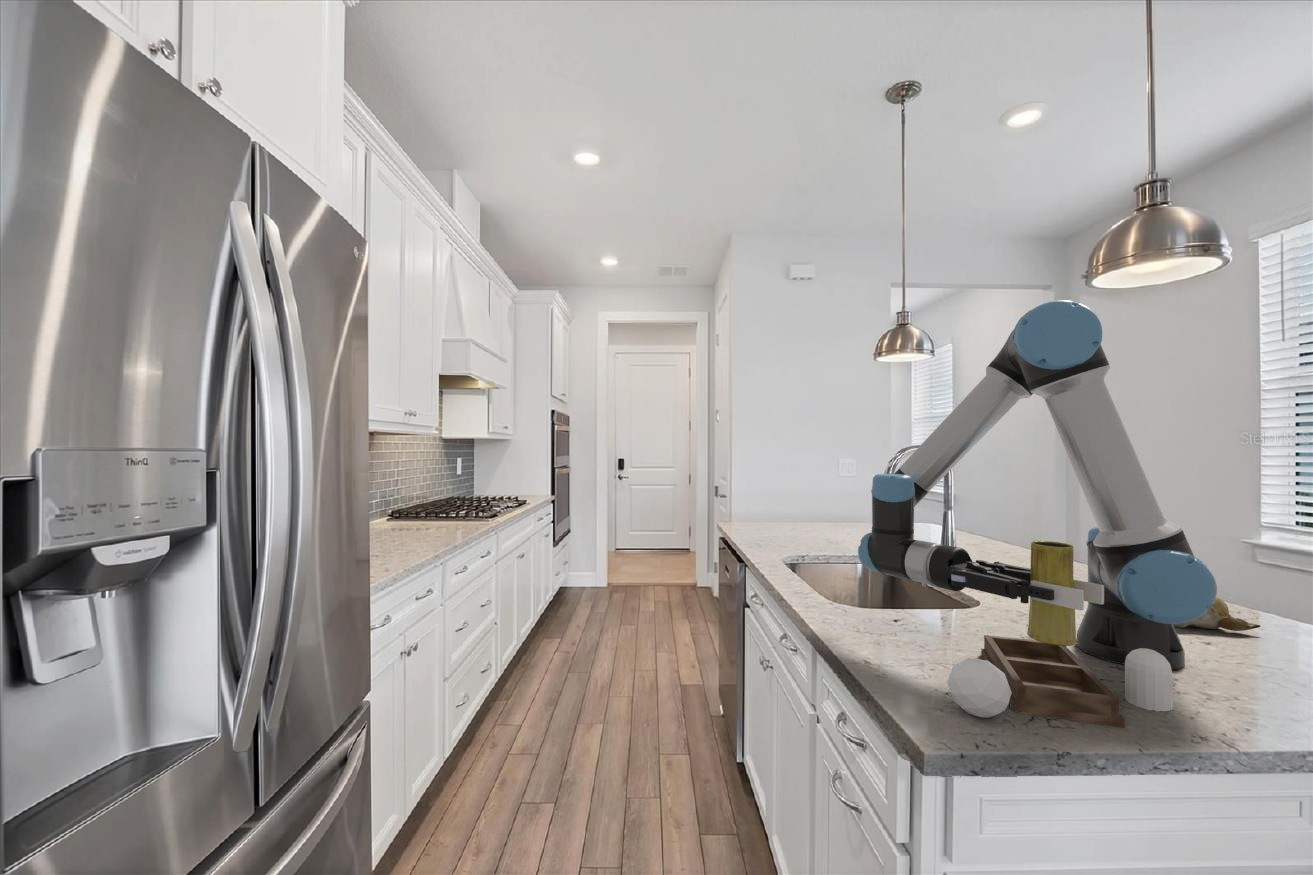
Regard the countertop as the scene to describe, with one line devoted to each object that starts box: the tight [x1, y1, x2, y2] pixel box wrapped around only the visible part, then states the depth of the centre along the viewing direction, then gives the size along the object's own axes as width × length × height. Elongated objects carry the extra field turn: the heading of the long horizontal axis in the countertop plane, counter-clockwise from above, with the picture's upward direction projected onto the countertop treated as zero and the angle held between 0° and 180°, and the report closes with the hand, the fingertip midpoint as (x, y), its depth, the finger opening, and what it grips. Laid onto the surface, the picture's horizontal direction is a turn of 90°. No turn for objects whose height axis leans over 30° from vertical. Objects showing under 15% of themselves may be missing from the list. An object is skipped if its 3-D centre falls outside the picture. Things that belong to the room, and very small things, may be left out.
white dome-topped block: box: [1124, 648, 1174, 712], centre depth 83 cm, size 5×5×8 cm
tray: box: [980, 634, 1126, 728], centre depth 89 cm, size 13×23×4 cm, turn 160°
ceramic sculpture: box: [1173, 595, 1262, 632], centre depth 118 cm, size 11×9×15 cm
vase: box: [1026, 540, 1077, 647], centre depth 84 cm, size 6×6×14 cm
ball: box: [946, 657, 1012, 719], centre depth 80 cm, size 8×8×8 cm
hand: (1092, 597), depth 80 cm, fingers closed on vase, 5 cm apart
